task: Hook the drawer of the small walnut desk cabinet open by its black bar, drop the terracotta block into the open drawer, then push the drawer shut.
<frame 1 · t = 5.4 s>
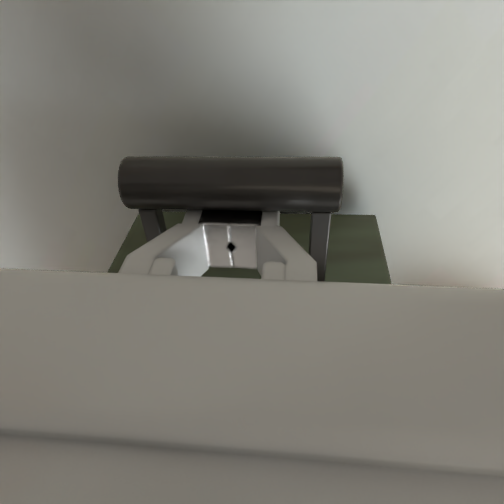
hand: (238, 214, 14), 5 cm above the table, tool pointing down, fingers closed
drawer: (250, 329, 19), point 5 cm above the table, slide at 1.8 cm, touching gripper
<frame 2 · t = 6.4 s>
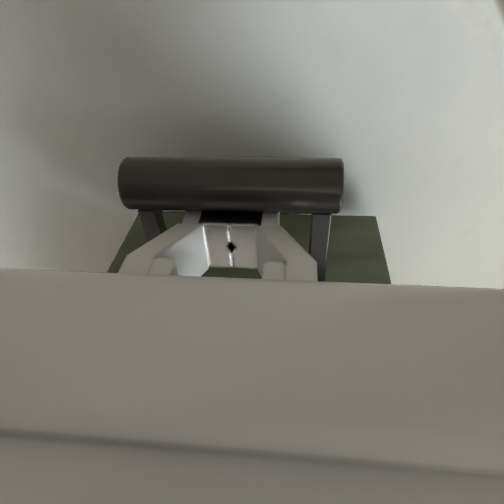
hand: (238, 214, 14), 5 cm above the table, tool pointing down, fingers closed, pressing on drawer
drawer: (249, 330, 19), point 5 cm above the table, slide at 6.6 cm, touching gripper
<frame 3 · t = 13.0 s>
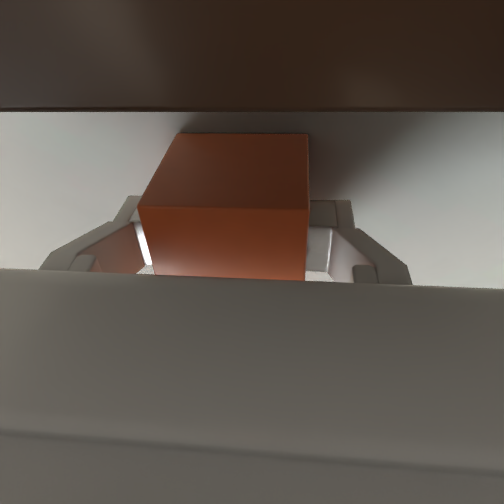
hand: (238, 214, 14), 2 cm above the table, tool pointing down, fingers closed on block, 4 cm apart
block: (244, 189, 15), on the table, touching gripper
when the fingers open (10 cm above the table, at t = 18.1 s): block stays where it is, point 8 cm above the table.
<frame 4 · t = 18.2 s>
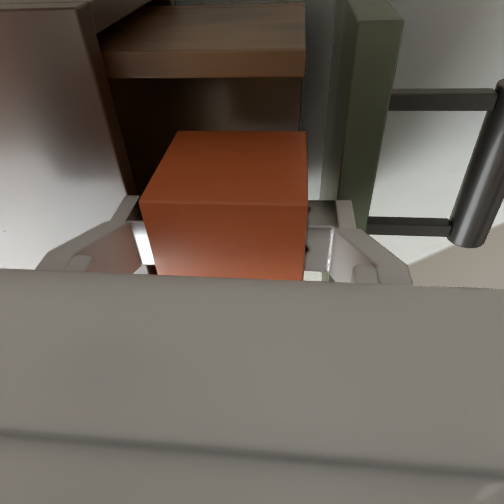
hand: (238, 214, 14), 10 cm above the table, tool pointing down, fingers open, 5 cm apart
block: (244, 186, 15), point 8 cm above the table
drawer: (266, 151, 17), point 5 cm above the table, slide at 7.2 cm
cabinet: (60, 109, 22), on the table
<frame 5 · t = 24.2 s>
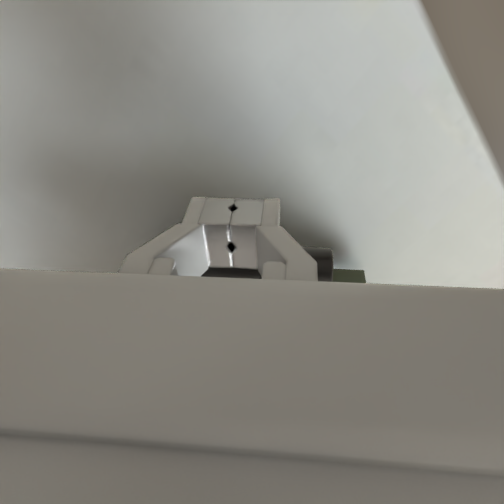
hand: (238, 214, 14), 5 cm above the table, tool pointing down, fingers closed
drawer: (250, 370, 21), point 5 cm above the table, slide at 6.7 cm, touching block, gripper
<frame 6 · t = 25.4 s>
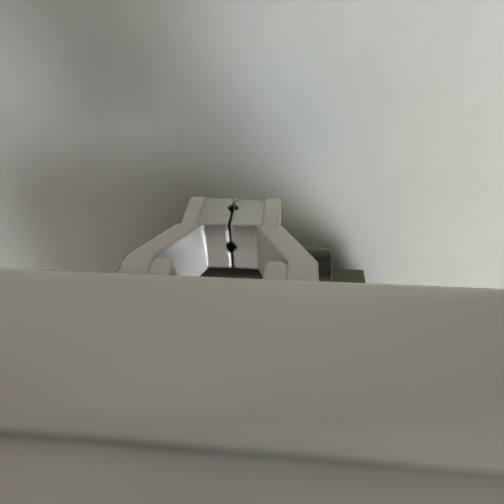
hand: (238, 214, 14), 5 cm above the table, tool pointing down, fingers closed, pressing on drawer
drawer: (249, 370, 21), point 5 cm above the table, slide at 0.8 cm, touching block, gripper
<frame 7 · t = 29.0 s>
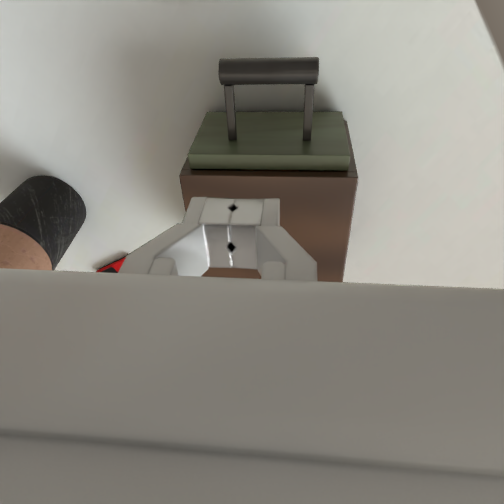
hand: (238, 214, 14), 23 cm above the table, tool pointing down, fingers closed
drawer: (271, 176, 34), point 5 cm above the table, slide at 0.0 cm, touching block, cabinet
cabinet: (274, 191, 40), on the table
travel mug: (55, 202, 44), on the table
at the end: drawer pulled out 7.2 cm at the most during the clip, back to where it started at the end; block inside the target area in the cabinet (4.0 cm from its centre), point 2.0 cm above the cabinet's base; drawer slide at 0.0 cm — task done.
